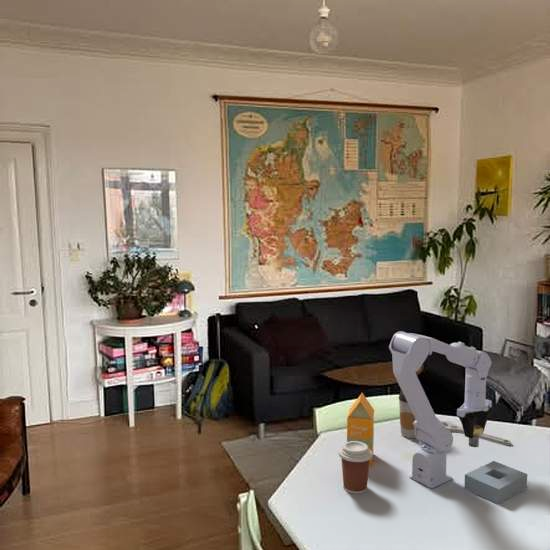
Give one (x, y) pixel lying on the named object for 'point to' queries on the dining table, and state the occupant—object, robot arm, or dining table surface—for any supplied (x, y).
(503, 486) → the block
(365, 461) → the coffee cup
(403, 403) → the coffee cup
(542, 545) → the dining table surface
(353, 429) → the orange juice
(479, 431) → the brass door knob
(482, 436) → the adjustable wrench
